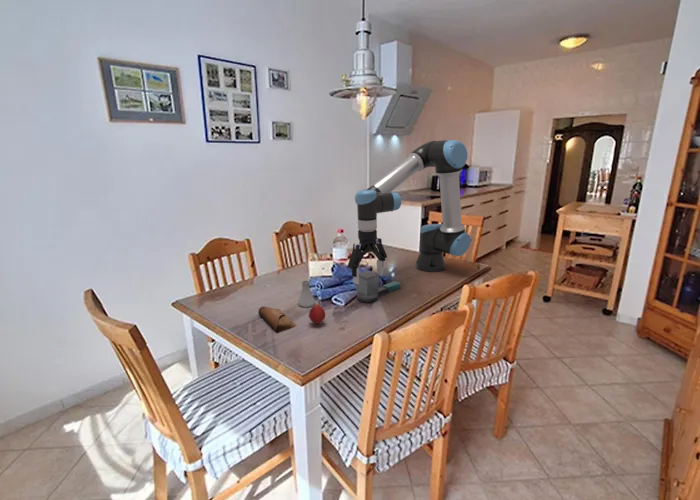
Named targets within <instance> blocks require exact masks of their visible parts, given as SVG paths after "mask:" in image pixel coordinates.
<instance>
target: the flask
mask: <svg viewBox="0 0 700 500" xmlns="http://www.w3.org/2000/svg"><path fill="white" fill-rule="evenodd" d="M310 283H311V281H310V280H309V279H305V280H302V281H301V284H302V286H301V287H302V288H301V292H300V296H299V298H298V301H297V305H298V306H299V307H301V308H312V307H314V306H315V305H316V304H317V302H316V300H315V297H314V295H313V294H312V293H313V292H312V291H311V287H310Z"/></svg>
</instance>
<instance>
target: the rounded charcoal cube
mask: <svg viewBox="0 0 700 500" xmlns="http://www.w3.org/2000/svg"><path fill="white" fill-rule="evenodd" d="M379 276H380V275H379V274H377V272H373V271H370V270H365V271H362V272H359V284H358V285H357V284H355V285H356V287H355V288H356V289H355V290H356V294H357V293H360V294H362V295H365V296H370V295H373V294H375V293H378V292H379V288H380V287H379V286H380V285H379V283H380V282H379V281H380V280H379V278H380V277H379Z"/></svg>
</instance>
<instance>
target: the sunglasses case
mask: <svg viewBox="0 0 700 500" xmlns="http://www.w3.org/2000/svg"><path fill="white" fill-rule="evenodd" d="M257 312H258V315H259V316H260V317H262V318H263V320H265V322H267V323H268V324H269V325H270V326H271V328H272V329H274V331H275V332H277V333H282V332H284V331H288V330H291V329H294V328H296V327H297V325H296V323H295V322H293V320H291V318H290V317H288V316H287V315H286V314H285V313H284V311H282V310H281V309H280V308H273V307H269V306H260V308H258V311H257Z"/></svg>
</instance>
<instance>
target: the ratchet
mask: <svg viewBox="0 0 700 500" xmlns="http://www.w3.org/2000/svg"><path fill="white" fill-rule="evenodd" d="M400 289H401V282H399V281H396V280H394V281H391V282H389V283H386V284H383V285H382V286H380V287H379V292H378V293H375V294H373V295H370V296H365V295H362V294H360V293H357V292H356V301H358V302H359V303H364V304H372V303H376V302H377V301H379V297H380V296H383V295H386V294H390V293H392V292H395V291H398V290H400Z"/></svg>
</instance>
